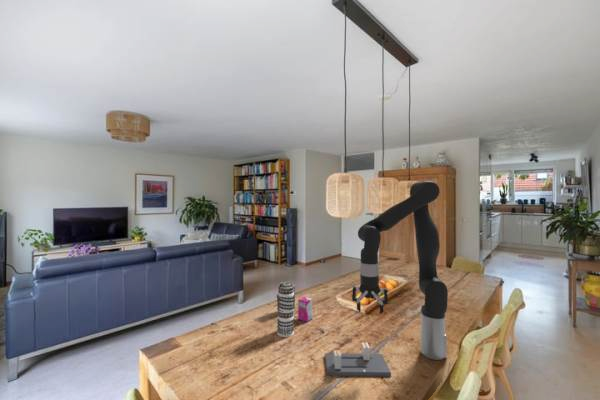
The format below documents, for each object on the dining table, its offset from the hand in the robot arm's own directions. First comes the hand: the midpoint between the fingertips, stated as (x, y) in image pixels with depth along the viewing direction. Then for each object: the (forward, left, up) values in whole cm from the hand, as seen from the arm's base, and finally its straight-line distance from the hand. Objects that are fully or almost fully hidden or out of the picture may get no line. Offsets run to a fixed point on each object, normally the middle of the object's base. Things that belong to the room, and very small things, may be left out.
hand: (370, 312), depth 111 cm
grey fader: (+14, +7, -18) cm, 24 cm away
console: (+6, +4, -20) cm, 21 cm away
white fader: (+2, +1, -18) cm, 18 cm away
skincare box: (+37, -47, -20) cm, 63 cm away
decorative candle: (+36, -22, -20) cm, 47 cm away
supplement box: (+26, -37, -20) cm, 50 cm away
